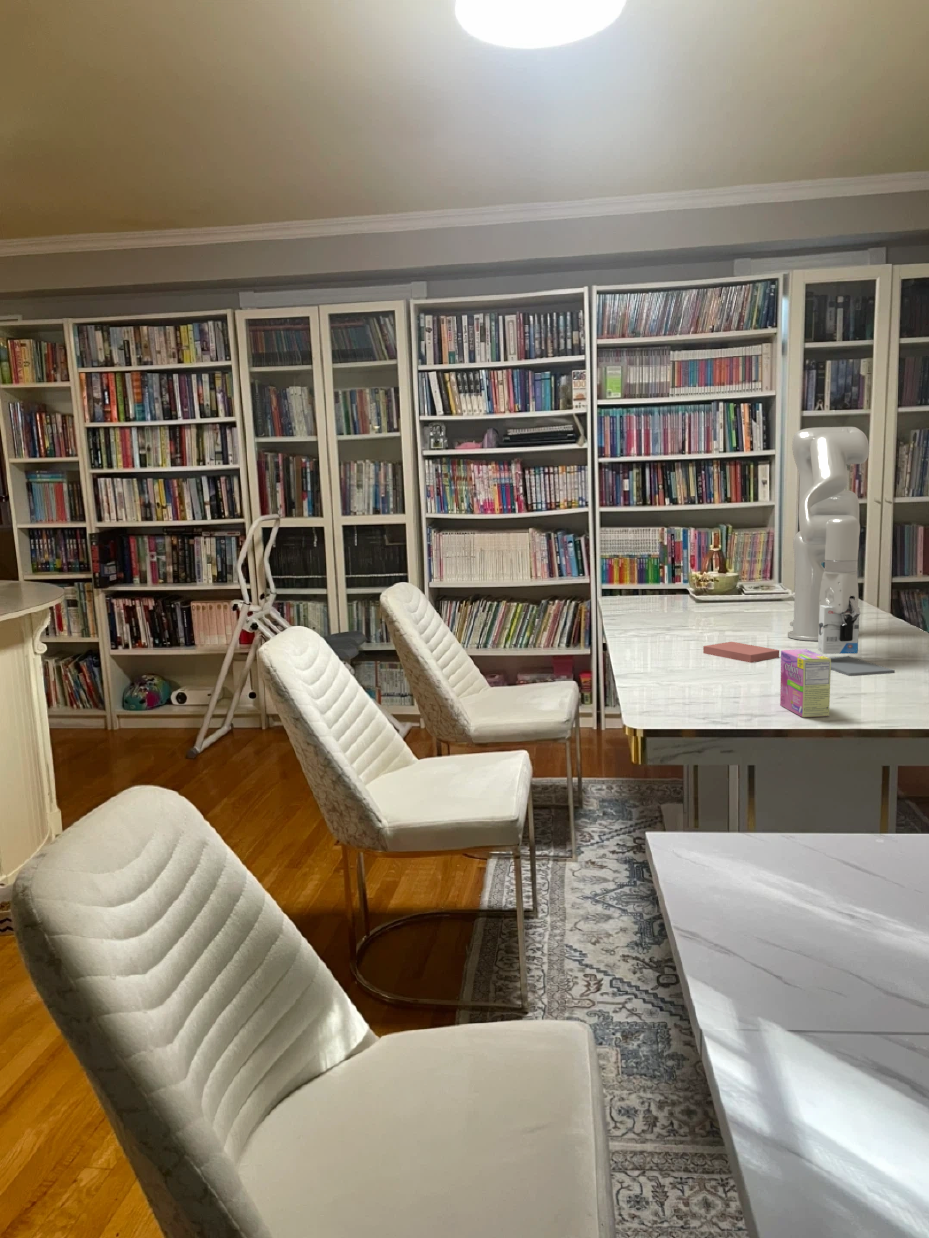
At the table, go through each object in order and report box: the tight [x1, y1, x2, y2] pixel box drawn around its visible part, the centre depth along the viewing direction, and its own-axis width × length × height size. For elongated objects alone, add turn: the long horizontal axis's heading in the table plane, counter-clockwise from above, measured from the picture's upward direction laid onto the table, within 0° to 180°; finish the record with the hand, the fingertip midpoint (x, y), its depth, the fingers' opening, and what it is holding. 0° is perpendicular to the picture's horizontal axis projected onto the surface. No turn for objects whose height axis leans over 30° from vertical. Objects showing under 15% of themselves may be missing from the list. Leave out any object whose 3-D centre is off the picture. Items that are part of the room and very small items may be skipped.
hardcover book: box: [702, 641, 780, 663], centre depth 240 cm, size 16×11×2 cm
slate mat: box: [828, 655, 896, 677], centre depth 223 cm, size 18×12×1 cm, turn 11°
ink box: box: [817, 605, 860, 655], centre depth 226 cm, size 8×5×12 cm, turn 84°
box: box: [779, 648, 832, 718], centre depth 181 cm, size 10×6×12 cm, turn 5°
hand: (837, 638), depth 226 cm, fingers closed on ink box, 6 cm apart
